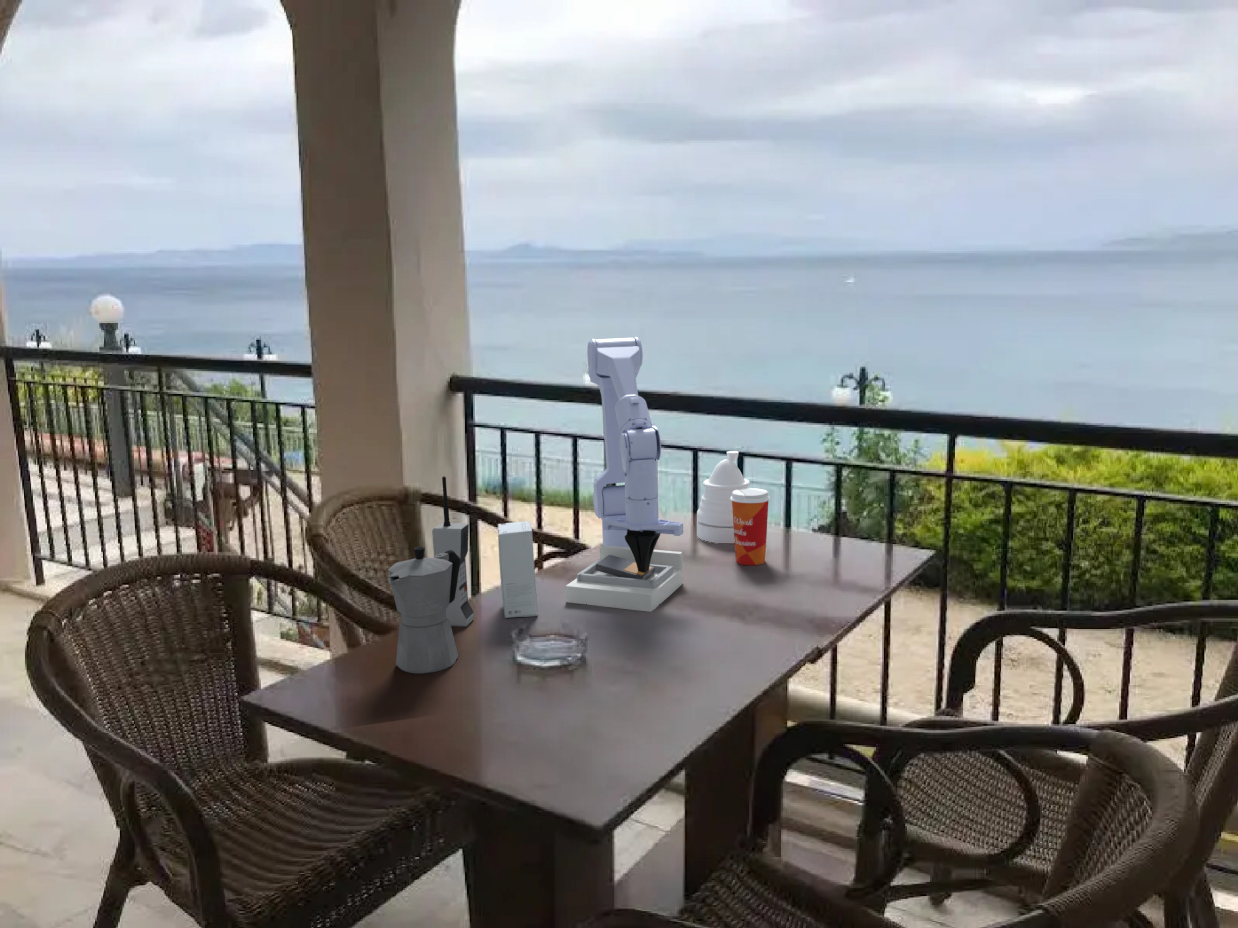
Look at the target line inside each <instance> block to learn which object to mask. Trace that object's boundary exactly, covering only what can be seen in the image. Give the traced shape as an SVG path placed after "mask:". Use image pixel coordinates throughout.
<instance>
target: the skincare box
mask: <svg viewBox="0 0 1238 928" xmlns="http://www.w3.org/2000/svg"><path fill="white" fill-rule="evenodd" d="M532 529H533V528H532V524H531V521H530V520H528V521H527V520H526V521H515V522H505V523H498V524H497V534H498V535H497V537H498V541H497V542H498V559H499V560H498V562H499V563H498V565H499V574H500V575H499V576H500V589H501V600H502V608H503V613H504V618H507V619H508V618H509V619H510V618H518V617H519V618H521V617H522V618H523V617H538V616H539V608H538V597H537V594H538V593H537V585H536V583H537V582H536V570H535V559H534V557H535V556H534V555H535V554H534V541H533V530H532Z"/></svg>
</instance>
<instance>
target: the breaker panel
mask: <svg viewBox="0 0 1238 928" xmlns="http://www.w3.org/2000/svg"><path fill="white" fill-rule="evenodd" d="M608 555H613V556H616V557H620V558H624V559H627V560H631V561H635V558H634V556H633V553H632V551H631V549H630V547H618V546H607V545H603V544H602V545H600V546H599V559H597V560H596V561H595V562H594V561H593V563H591V564H590V565H588V566H587V567H586V568H584V569H583V570H581V571H580V572H578V573H577V574H576V578H575V579H574V580H572V581H571V582H569V583H568V584H566V585H565V599H566V600H565V602H566V603H568V604H569V603H570V604H580V605H586V604H587V606H596V607H605V608H615V609H624V610H630V611H631V610H632V611H638V612H639V611H640V612H649V613H652V612H653V611H654V610H655V609H656V608H658V607H659V606H660V605H661V604H662V603H664V601H666V600H667V598H669V597H670V596H671V595H672V594H673V593H674V592H675V591H677V590H678V589H679V588H680V587H681V586H683V584H684V569H683V568H684V567H683V566H684V565H683V564H684V563H683V561H684V559H683V551H674V550H663V549H654V550H653V553H652V557H651V561H650V566H653V567H655V571H654V574H653V575H651V576H650V577H649V578H648V579H646V580H643V579H633V578H623V577H618V576H614V575H611V574H607V573H603V572H600V571H596V570H595V568H596V564H597V563H598V562H599V561H601V560H602V559H604V558H605V557H607V556H608ZM635 562H636V561H635ZM659 604H660V605H659Z"/></svg>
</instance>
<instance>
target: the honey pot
mask: <svg viewBox="0 0 1238 928" xmlns="http://www.w3.org/2000/svg"><path fill="white" fill-rule="evenodd" d="M738 458H739V451H737V450H729V451H726V458H725V459H722V460H720V461H719V462H718V463H717V464H716V466H715V467H714V469H713V471H711V475H710V476H709V478H707V479H705V480H704V481H703V482H702V485H703V487H704V488H705V489H704V491H703V494H702V495H701V497H700V498H701V501H700V503H699V508H698V510H697V511H696V537H697V536H698V537H699V538H700V539H702V540H701V541H703V540H705V541H704V542H706V541H709V542H708V543H711V542H715V543H714V544H718V543H735V540H734V525H733V510H732V500H731V499H730V497H731V496H732V492H733V491H734V490H739V489H746V488H749V486H751V481H750V480H749V479H748V478H747V479H746V478H745V477H744V476H743V473H742V472H741V470H740V469H739V467H738V466H737V465H736V464H735V461H736V460H737V459H738ZM698 537H697V538H698ZM699 538H698V539H699ZM700 539H699V540H700Z"/></svg>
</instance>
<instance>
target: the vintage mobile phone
mask: <svg viewBox="0 0 1238 928" xmlns="http://www.w3.org/2000/svg"><path fill="white" fill-rule="evenodd" d="M441 480H442V481H441V483H442V497H443V507H442V508H443V509H442V510H443V522H441V523H440V524H438V525H437V526H435V527H434V528H432V530H431V531H432V532H431V533H432V534H431V535H432V536H431V537H432V547H433V558H435V555H437V554H440V553H444V552H446V551H448V550H453V551H454V552H455V553H456V554H457V555H458V556H459V558H460V568H459V574H458V581H457V588H456V594H455V599H454V601H453V602H451V603H450V604H449V605H448V607H447V608H446V616H447V618H448V619H449V621H450V625H451V627H465V628H467V627H468V626H469V624H470V623H471V622H472V621H473V620H474V619H475V612H474V610H473V608H472V606H471V605H470V602H469V595H468V593H469V592H468V580H467V579H468V577H467V566H466V557H467V555H468V551H469V528H470V527H469V523H467V522H466V523H465V522H463V523H462V522H457V523H456V522H450V508H449V504H448V490H447V488H448V487H447V476H445V475H443V476H442V477H441Z"/></svg>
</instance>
